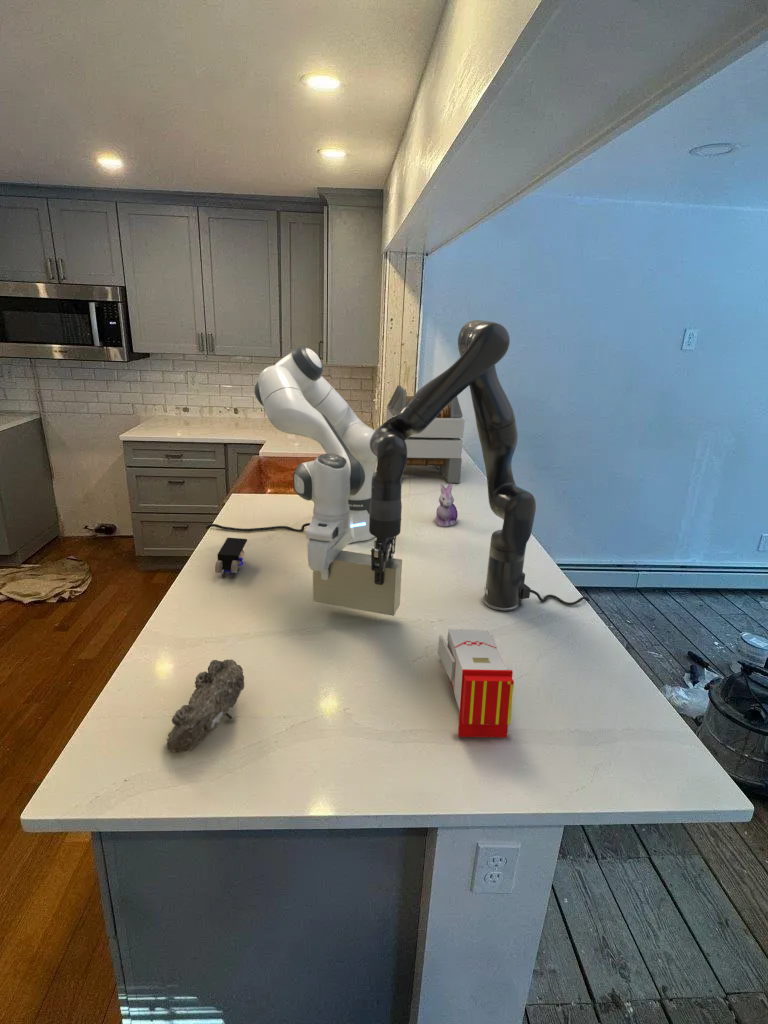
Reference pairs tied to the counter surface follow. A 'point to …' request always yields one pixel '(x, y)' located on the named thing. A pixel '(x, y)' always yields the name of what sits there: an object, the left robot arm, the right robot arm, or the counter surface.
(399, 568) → the box
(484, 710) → the toy
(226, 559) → the toy car
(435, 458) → the transformer
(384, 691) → the counter surface
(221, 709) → the fossil
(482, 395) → the right robot arm
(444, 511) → the figurine
